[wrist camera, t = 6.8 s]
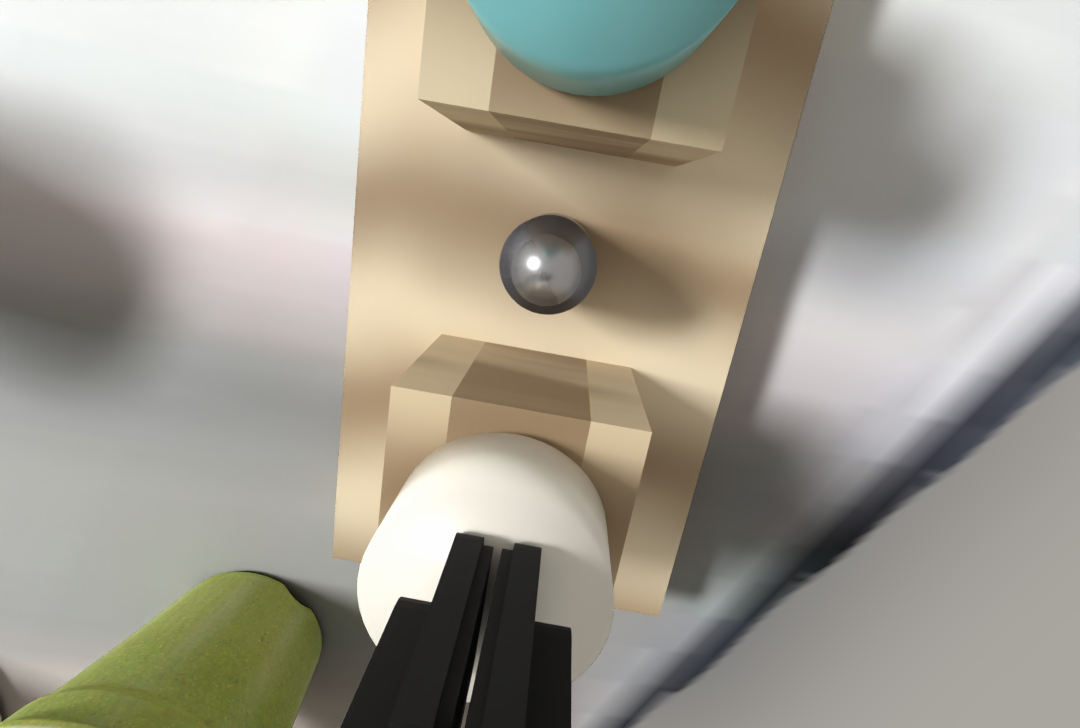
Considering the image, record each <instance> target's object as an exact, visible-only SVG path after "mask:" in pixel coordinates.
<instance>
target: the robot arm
mask: <svg viewBox="0 0 1080 728" xmlns="http://www.w3.org/2000/svg"><path fill="white" fill-rule="evenodd" d="M541 552H542V548H541V547H535V546H530V545H524V544H519V543H514V548H513V550H508V549H503V548H502V552H501V557H500V561H499V566H498V571H497V576H496V581H495V585H494V590H493V595H492V600H491V604H490V609H489V614H488V619H487V624H486V628H485V633H484V638H483V643H482V647H481V652H480V657H479V662H478V667H477V671H476V676H475V681H474V686H473V690H472V695H471V700H470V705H469V710H468V715H467V719H466V725H465V728H571V662H572V632H571V628H570V627H565V626H559V625H554V624H548V623H543V622H537V621H535V614H536V604H537V593H538V583H539V573H540V562H541ZM492 554H493V547H492V546H486V545H484V537H480V536H475V535H469V534H464V533H458V532H457V533H456V535H455V538H454V540H453V543H452V546H451V549H450V552H449V554H448V557H447V560H446V563H445V566H444V569H443V571H442V574H441V577H440V580H439V583H438V585H437V588H436V591H435V594H434V597H433V599H432V602H428V601H423V600H418V599H412V598H407V597H400V598H399V599H398V600H397V602H396V604H395V606H394V608H393V611H392V613H391V615H390V617H389V620H388V622H387V624H386V626H385V629H384V631H383V633H382V635H381V638H380V640H379V642H378V644H377V647H376V649H375V651H374V653H373V656H372V658H371V660H370V662H369V665H368V667H367V669H366V671H365V674H364V676H363V678H362V680H361V683H360V685H359V687H358V690H357V692H356V694H355V696H354V699H353V701H352V703H351V705H350V708H349V710H348V712H347V714H346V717H345V719H344V721H343V723H342V726H341V728H461V723H462V718H463V714H464V709H465V705H466V700H467V695H468V691H469V686H470V682H471V677H472V672H473V667H474V662H475V656H476V650H477V644H478V638H479V632H480V626H481V620H482V614H483V608H484V602H485V596H486V590H487V584H488V578H489V572H490V566H491V560H492ZM0 722H2V719H1V713H0Z"/></svg>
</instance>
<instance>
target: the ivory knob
mask: <svg viewBox="0 0 1080 728" xmlns="http://www.w3.org/2000/svg"><path fill="white" fill-rule="evenodd" d="M457 532H458V533H464V534H469V535H475V536H480V537H484V545H486V546H492V547H493V554H492V560H491V566H490V572H489V578H488V584H487V590H486V596H485V602H484V608H483V614H482V620H481V626H480V632H479V638H478V644H477V650H476V656H475V662H474V667H473V672H472V677H471V682H470V686H469V691H468V695H467V700H466V702H470V700H471V695H472V690H473V686H474V681H475V676H476V671H477V667H478V662H479V657H480V652H481V647H482V643H483V638H484V633H485V628H486V624H487V619H488V614H489V609H490V604H491V600H492V595H493V590H494V585H495V581H496V576H497V571H498V566H499V561H500V557H501V552H502V548H503V549H508V550H513V548H514V543H519V544H524V545H530V546H535V547H541V548H542V552H541V562H540V573H539V583H538V593H537V604H536V614H535V621H537V622H543V623H548V624H554V625H559V626H565V627H570V628H571V632H572V662H571V682H573V681H574V680H575V679H577V678H578V677H579V676H581V675H582V674H583V673H584V672H585V671H586V670H587V669H588V668H589V667H590V666H591V665H592V664H593V662H594V661H595V660H596V658H597V657H598V655H599V654H600V653H601V651H602V649H603V647H604V645H605V643H606V641H607V639H608V636H609V633H610V630H611V627H612V621H613V616H614V593H613V583H612V574H611V564H610V554H609V544H608V534H607V525H606V518H605V511H604V508H603V505H602V501H601V499H600V497H599V494H598V492H597V490H596V488H595V486H594V485H593V483H592V482H591V480H590V479H589V477H588V476H587V475H586V474H585V473H584V471H583V470H582V469H581V468H580V467H579V466H578V465H577V464H576V463H575V462H574V461H573V460H571V459H570V458H569V457H568V456H566V455H565V454H563V453H562V452H561V451H559V450H558V449H556V448H554V447H552V446H550V445H548V444H546V443H544V442H541V441H539V440H536V439H533V438H531V437H526V436H522V435H518V434H511V433H503V432H492V433H480V434H473V435H469V436H465V437H461V438H458V439H456V440H453V441H451V442H448V443H446V444H444V445H443V446H441V447H439V448H437V449H436V450H434V451H433V452H432V453H430V454H429V455H428V456H426V457H425V458H424V459H423V460H422V461H421V462H420V463H419V464H418V465H417V466H416V467H415V469H414V470H413V472H412V473H411V474H410V476H409V477H408V479H407V481H406V482H405V484H404V486H403V487H402V489H401V491H400V492H399V494H398V496H397V497H396V499H395V501H394V502H393V504H392V506H391V507H390V509H389V511H388V512H387V514H386V516H385V518H384V519H383V521H382V523H381V524H380V526H379V528H378V529H377V531H376V533H375V534H374V536H373V538H372V539H371V541H370V543H369V545H368V547H367V549H366V551H365V553H364V555H363V558H362V561H361V564H360V568H359V574H358V580H357V596H358V603H359V609H360V612H361V616H362V619H363V622H364V625H365V627H366V629H367V631H368V633H369V635H370V637H371V638H372V640H373V642H374V643H375V645H376V646H377V644H378V642H379V640H380V638H381V635H382V633H383V631H384V629H385V626H386V624H387V622H388V620H389V617H390V615H391V613H392V611H393V608H394V606H395V604H396V602H397V600H398V599H399V598H400V597H407V598H412V599H418V600H423V601H428V602H432V599H433V597H434V594H435V591H436V588H437V585H438V583H439V580H440V577H441V574H442V571H443V569H444V566H445V563H446V560H447V557H448V554H449V552H450V549H451V546H452V543H453V540H454V538H455V535H456V533H457Z"/></svg>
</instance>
